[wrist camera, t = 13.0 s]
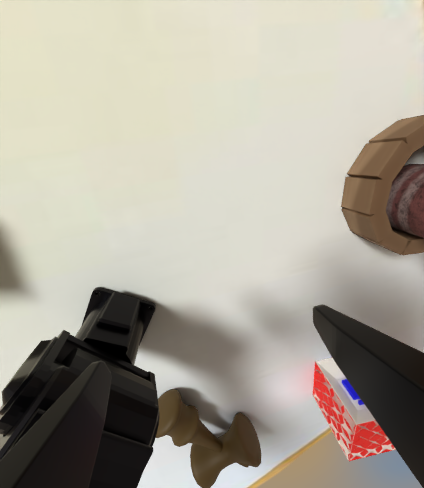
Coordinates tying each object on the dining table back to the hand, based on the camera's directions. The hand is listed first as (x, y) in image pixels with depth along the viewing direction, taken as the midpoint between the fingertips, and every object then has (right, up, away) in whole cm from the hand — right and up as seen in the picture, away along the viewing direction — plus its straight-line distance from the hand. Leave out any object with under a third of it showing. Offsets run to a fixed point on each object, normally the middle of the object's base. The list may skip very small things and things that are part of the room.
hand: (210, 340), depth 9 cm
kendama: (-1, -23, +24) cm, 33 cm away
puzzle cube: (+19, -16, +23) cm, 34 cm away
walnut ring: (+19, +10, +12) cm, 25 cm away
